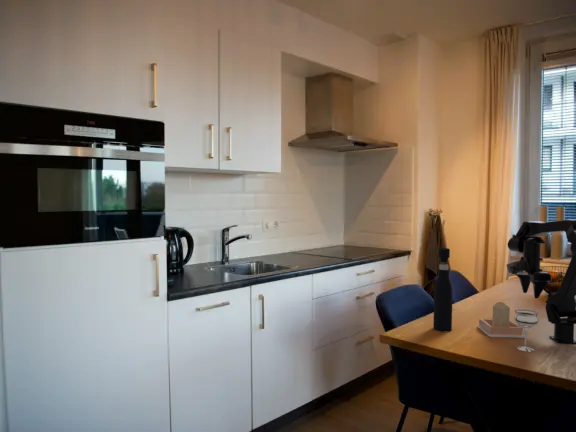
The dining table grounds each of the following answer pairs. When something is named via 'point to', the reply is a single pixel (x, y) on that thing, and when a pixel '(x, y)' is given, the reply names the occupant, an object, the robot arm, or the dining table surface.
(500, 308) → the candle
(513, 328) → the pink square tray
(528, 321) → the wineglass
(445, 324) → the wine bottle
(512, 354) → the dining table surface
